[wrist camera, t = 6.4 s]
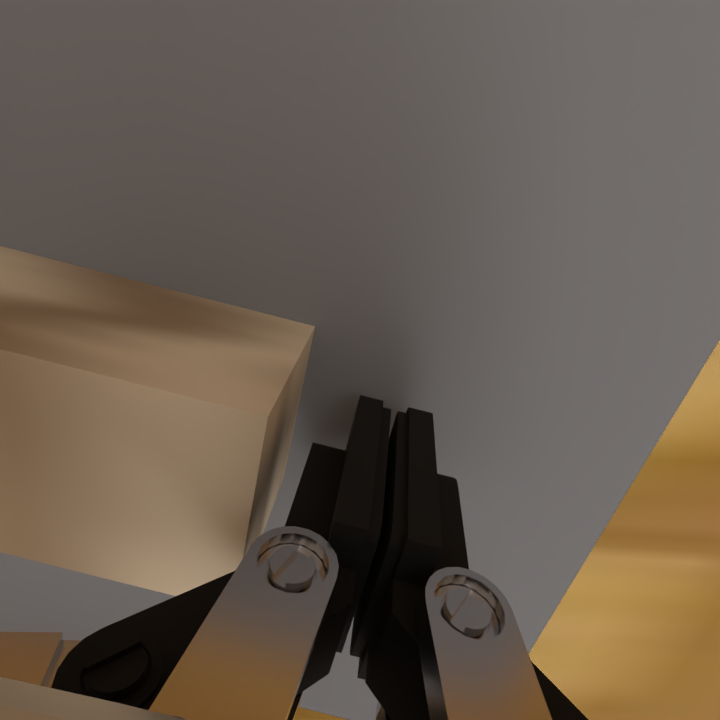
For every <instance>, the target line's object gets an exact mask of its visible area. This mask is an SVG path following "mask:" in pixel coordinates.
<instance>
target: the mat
mask: <svg viewBox="0 0 720 720" xmlns="http://www.w3.org/2000/svg"><path fill="white" fill-rule="evenodd" d="M0 246H2V247H6V248H10V249H14V250H18V251H22V252H26V253H30V254H34V255H38V256H42V257H46V258H49V259H53V260H57V261H61V262H65V263H69V264H73V265H77V266H81V267H85V268H89V269H93V270H96V271H100V272H104V273H108V274H112V275H116V276H120V277H124V278H128V279H132V280H136V281H140V282H143V283H147V284H151V285H155V286H159V287H163V288H167V289H171V290H175V291H179V292H183V293H187V294H190V295H194V296H198V297H202V298H206V299H210V300H214V301H218V302H222V303H226V304H230V305H234V306H238V307H241V308H245V309H249V310H253V311H257V312H261V313H265V314H269V315H273V316H277V317H281V318H284V319H288V320H292V321H296V322H300V323H304V324H308V325H312V326H315V329H314V334H313V339H312V343H311V348H310V353H309V358H308V363H307V368H306V372H305V377H304V382H303V387H302V392H301V396H300V401H299V406H298V411H297V416H296V421H295V425H294V430H293V435H292V440H291V445H290V449H289V454H288V459H287V464H286V469H285V474H284V478H283V481H282V484H281V487H280V489H279V492H278V494H277V497H276V500H275V502H274V505H273V508H272V510H271V513H270V516H269V518H268V521H267V523H266V526H265V529H264V531H263V534H264V533H265V532H267V531H269V530H271V529H275V528H279V527H283V526H285V524H286V521H287V518H288V515H289V512H290V509H291V506H292V503H293V500H294V497H295V494H296V491H297V488H298V485H299V482H300V479H301V476H302V473H303V470H304V467H305V464H306V461H307V458H308V455H309V452H310V449H311V446H312V443H313V442H314V443H318V444H322V445H326V446H330V447H334V448H338V449H342V450H346V446H347V443H348V439H349V435H350V431H351V427H352V424H353V420H354V416H355V412H356V408H357V404H358V401H359V397H360V395H362V396H366V397H370V398H374V399H378V400H382V401H383V407H384V408H388V409H391V420H390V432H389V437H390V433H391V430H392V427H393V424H394V420H395V417H396V414H397V412H398V411H400V412H404V413H406V411H407V409H408V407H410V408H414V409H418V410H422V411H426V412H430V413H433V423H434V436H435V450H436V463H437V474H441V475H445V476H449V477H453V478H455V479H456V480H457V483H458V489H459V497H460V504H461V512H462V519H463V527H464V535H465V542H466V550H467V557H468V565H469V570H472V571H474V572H476V573H478V574H480V575H482V576H484V577H486V578H487V579H488V580H489V581H491V582H492V583H493V584H494V585H496V586H497V587H498V589H499V590H500V591H501V592H502V593H503V595H504V596H505V597H506V599H507V601H508V603H509V604H510V606H511V608H512V610H513V613H514V616H515V619H516V621H517V624H518V627H519V630H520V632H521V635H522V638H523V641H524V643H525V646H526V649H527V652H528V654H529V652H530V650H531V649H532V647H533V645H534V644H535V642H536V641H537V639H538V637H539V636H540V634H541V632H542V631H543V629H544V627H545V626H546V624H547V622H548V621H549V619H550V618H551V616H552V614H553V613H554V611H555V609H556V608H557V606H558V604H559V603H560V601H561V599H562V598H563V596H564V595H565V593H566V591H567V590H568V588H569V586H570V585H571V583H572V581H573V580H574V578H575V576H576V575H577V573H578V572H579V570H580V568H581V567H582V565H583V563H584V562H585V560H586V558H587V557H588V555H589V553H590V552H591V550H592V549H593V547H594V545H595V544H596V542H597V540H598V539H599V537H600V535H601V534H602V532H603V530H604V529H605V527H606V526H607V524H608V522H609V521H610V519H611V517H612V516H613V514H614V512H615V511H616V509H617V507H618V506H619V504H620V503H621V501H622V499H623V498H624V496H625V494H626V493H627V491H628V489H629V488H630V486H631V484H632V483H633V481H634V479H635V478H636V476H637V475H638V473H639V471H640V470H641V468H642V466H643V465H644V463H645V461H646V460H647V458H648V456H649V455H650V453H651V452H652V450H653V448H654V447H655V445H656V443H657V442H658V440H659V438H660V437H661V435H662V433H663V432H664V430H665V429H666V427H667V425H668V424H669V422H670V420H671V419H672V417H673V415H674V414H675V412H676V410H677V409H678V407H679V406H680V404H681V402H682V401H683V399H684V397H685V396H686V394H687V392H688V391H689V389H690V387H691V386H692V384H693V383H694V381H695V379H696V378H697V376H698V374H699V373H700V371H701V369H702V368H703V366H704V364H705V363H706V361H707V360H708V358H709V356H710V355H711V353H712V351H713V350H714V348H715V346H716V345H717V343H718V341H719V340H720V0H0ZM173 597H175V596H173V595H169V594H165V593H161V592H157V591H153V590H149V589H145V588H141V587H137V586H133V585H129V584H125V583H121V582H117V581H113V580H109V579H105V578H101V577H97V576H93V575H89V574H85V573H81V572H77V571H73V570H69V569H65V568H61V567H57V566H53V565H49V564H45V563H41V562H37V561H33V560H29V559H25V558H21V557H17V556H13V555H9V554H5V553H1V552H0V632H63V640H83V639H84V638H86V637H87V636H89V635H91V634H93V633H94V632H96V631H98V630H99V629H101V628H103V627H106V626H108V625H110V624H113V623H115V622H117V621H120V620H122V619H124V618H127V617H129V616H131V615H134V614H136V613H138V612H140V611H143V610H145V609H147V608H150V607H152V606H154V605H157V604H159V603H161V602H164V601H166V600H168V599H171V598H173ZM353 620H354V617H353ZM353 620H352V623H351V626H350V629H349V632H348V635H347V638H346V641H345V644H344V647H343V650H342V653H339V652H336V654H335V657H334V660H333V663H332V666H331V669H330V672H329V674H328V675H327V676H325V677H324V678H322V679H321V680H319V681H318V682H316V683H315V684H313V685H312V686H310V687H309V688H307V689H306V690H304V691H303V695H302V698H301V701H300V704H299V707H301V708H305V709H309V710H313V711H316V712H320V713H324V714H328V715H332V716H336V717H340V718H344V719H348V720H376V709H377V704H378V700H377V699H376V697H375V696H374V694H373V693H372V692H371V690H370V689H369V687H368V686H367V684H366V683H365V680H364V679H360V678H357V676H358V666H359V657H355V656H351V655H350V645H351V637H352V628H353Z"/></svg>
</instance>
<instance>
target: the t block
mask: <svg viewBox="0 0 720 720" xmlns="http://www.w3.org/2000/svg"><path fill="white" fill-rule="evenodd" d="M314 329H315V326H312V325H308V324H304V323H300V322H296V321H292V320H288V319H284V318H281V317H277V316H273V315H269V314H265V313H261V312H257V311H253V310H249V309H245V308H241V307H238V306H234V305H230V304H226V303H222V302H218V301H214V300H210V299H206V298H202V297H198V296H194V295H190V294H187V293H183V292H179V291H175V290H171V289H167V288H163V287H159V286H155V285H151V284H147V283H143V282H140V281H136V280H132V279H128V278H124V277H120V276H116V275H112V274H108V273H104V272H100V271H96V270H93V269H89V268H85V267H81V266H77V265H73V264H69V263H65V262H61V261H57V260H53V259H49V258H46V257H42V256H38V255H34V254H30V253H26V252H22V251H18V250H14V249H10V248H6V247H2V246H0V552H1V553H5V554H9V555H13V556H17V557H21V558H25V559H29V560H33V561H37V562H41V563H45V564H49V565H53V566H57V567H61V568H65V569H69V570H73V571H77V572H81V573H85V574H89V575H93V576H97V577H101V578H105V579H109V580H113V581H117V582H121V583H125V584H129V585H133V586H137V587H141V588H145V589H149V590H153V591H157V592H161V593H165V594H169V595H173V596H177V595H180V594H182V593H184V592H187V591H189V590H191V589H194V588H196V587H198V586H201V585H203V584H205V583H208V582H210V581H212V580H215V579H217V578H219V577H221V576H224V575H226V574H228V573H231V572H233V571H235V570H236V569H237V567H238V566H239V564H240V562H241V561H242V559H243V558H244V556H245V554H246V553H247V551H248V550H249V548H250V546H251V545H252V544H253V543H254V541H255V540H256V539H257V538H258V537H259V536H260V535H262V534H263V531H264V529H265V526H266V523H267V521H268V518H269V516H270V513H271V510H272V508H273V505H274V502H275V500H276V497H277V494H278V492H279V489H280V487H281V484H282V481H283V478H284V474H285V469H286V464H287V459H288V454H289V449H290V445H291V440H292V435H293V430H294V425H295V421H296V416H297V411H298V406H299V401H300V396H301V392H302V387H303V382H304V377H305V372H306V368H307V363H308V358H309V353H310V348H311V343H312V339H313V334H314Z"/></svg>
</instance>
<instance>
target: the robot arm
mask: <svg viewBox="0 0 720 720" xmlns="http://www.w3.org/2000/svg"><path fill="white" fill-rule="evenodd" d="M390 420H391V409H388V408H384V407H383V401H382V400H378V399H374V398H370V397H366V396H362V395H360V397H359V401H358V404H357V408H356V412H355V416H354V420H353V424H352V427H351V431H350V435H349V439H348V443H347V446H346V450H342V449H338V448H334V447H330V446H326V445H322V444H318V443H314V442H313V443H312V446H311V449H310V452H309V455H308V458H307V461H306V464H305V467H304V470H303V473H302V476H301V479H300V482H299V485H298V488H297V491H296V494H295V497H294V500H293V503H292V506H291V509H290V512H289V515H288V518H287V521H286V524H285V526H283V527H279V528H275V529H271V530H269V531H267V532H265V533H264V534H262V535H260V536H259V537H258V538H257V539H256V540H255V541H254V543H253V544H252V545H251V546H250V548H249V550H248V551H247V553H246V554H245V556H244V558H243V559H242V561H241V562H240V564H239V566H238V567H237V569H236V570H235V571H233V572H231V573H228V574H226V575H224V576H221V577H219V578H217V579H215V580H212V581H210V582H208V583H205V584H203V585H201V586H198V587H196V588H194V589H191V590H189V591H187V592H184V593H182V594H180V595H177V596H175V597H173V598H171V599H168V600H166V601H164V602H161V603H159V604H157V605H154V606H152V607H150V608H147V609H145V610H143V611H140V612H138V613H136V614H134V615H131V616H129V617H127V618H124V619H122V620H120V621H117V622H115V623H113V624H110V625H108V626H106V627H103V628H101V629H99V630H98V631H96V632H94V633H93V634H91V635H89V636H87V637H86V638H84V639H83V640H63V632H0V720H294V718H295V715H296V713H297V710H298V707H299V704H300V701H301V698H302V695H303V691H304V690H306V689H307V688H309V687H310V686H312V685H313V684H315V683H316V682H318V681H319V680H321V679H322V678H324V677H325V676H327V675H328V674H329V672H330V669H331V666H332V663H333V660H334V657H335V654H336V652H339V653H342V650H343V647H344V644H345V641H346V638H347V635H348V632H349V629H350V626H351V623H352V620H353V617H354V620H353V628H352V637H351V645H350V655H351V656H355V657H359V666H358V676H357V678H360V679H364V680H365V683H366V684H367V686H368V687H369V689H370V690H371V692H372V693H373V694H374V696H375V697H376V699H377V700H378V704H377V709H376V720H588V719H587V718H586V717H585V716H584V715H583V714H582V713H581V712H580V711H579V710H578V709H577V708H576V707H575V706H574V705H573V704H572V703H571V702H570V701H569V699H568V698H567V697H566V696H565V695H564V694H563V693H562V692H561V691H560V690H559V689H558V688H557V687H556V686H555V685H554V684H553V683H552V682H551V681H550V680H549V679H548V678H547V677H546V676H545V675H544V674H543V673H542V672H541V671H540V670H539V669H538V668H537V667H536V666H535V665H534V664H533V663H532V662H531V660H530V657H529V654H528V652H527V649H526V646H525V643H524V641H523V638H522V635H521V632H520V630H519V627H518V624H517V621H516V619H515V616H514V613H513V610H512V608H511V606H510V604H509V603H508V601H507V599H506V597H505V596H504V595H503V593H502V592H501V591H500V590H499V589H498V587H497V586H496V585H494V584H493V583H492V582H491V581H489V580H488V579H487V578H486V577H484V576H482V575H480V574H478V573H476V572H474V571H472V570H469V565H468V557H467V550H466V542H465V535H464V527H463V519H462V512H461V504H460V497H459V489H458V483H457V480H456V479H455V478H453V477H449V476H445V475H441V474H437V463H436V450H435V436H434V423H433V413H430V412H426V411H422V410H418V409H414V408H410V407H408V409H407V411H406V413H404V412H400V411H398V412H397V414H396V417H395V420H394V424H393V427H392V430H391V433H390V437H389V432H390Z"/></svg>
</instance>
